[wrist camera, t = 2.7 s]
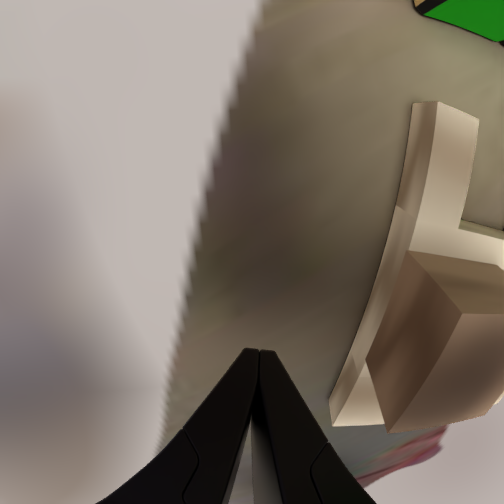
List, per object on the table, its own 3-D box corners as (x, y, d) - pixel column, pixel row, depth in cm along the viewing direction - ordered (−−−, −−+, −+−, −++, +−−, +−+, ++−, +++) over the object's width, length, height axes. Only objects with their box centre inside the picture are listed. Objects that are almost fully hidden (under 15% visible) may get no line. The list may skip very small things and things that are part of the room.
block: (452, 357, 12) (484, 415, 8) (365, 359, 12) (387, 433, 8) (496, 264, 9) (550, 314, 6) (406, 249, 9) (462, 313, 6)
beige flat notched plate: (487, 386, 15) (497, 403, 14) (328, 400, 16) (332, 426, 14) (572, 187, 9) (592, 196, 7) (412, 103, 9) (437, 101, 7)
